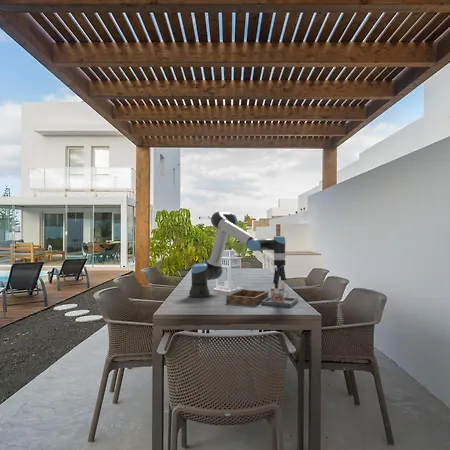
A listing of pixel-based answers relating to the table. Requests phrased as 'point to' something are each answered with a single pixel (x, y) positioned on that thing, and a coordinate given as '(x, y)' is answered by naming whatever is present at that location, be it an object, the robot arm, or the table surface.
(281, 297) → the teacup with lid
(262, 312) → the table surface
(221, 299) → the table surface
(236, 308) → the table surface
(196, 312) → the table surface
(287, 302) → the tray
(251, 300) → the crate
